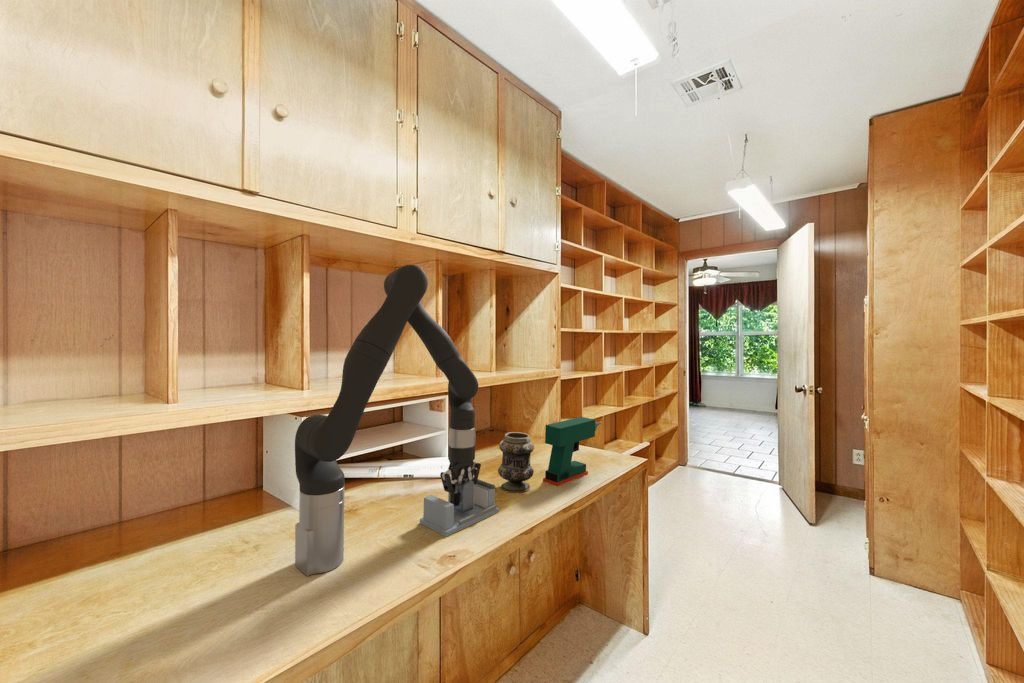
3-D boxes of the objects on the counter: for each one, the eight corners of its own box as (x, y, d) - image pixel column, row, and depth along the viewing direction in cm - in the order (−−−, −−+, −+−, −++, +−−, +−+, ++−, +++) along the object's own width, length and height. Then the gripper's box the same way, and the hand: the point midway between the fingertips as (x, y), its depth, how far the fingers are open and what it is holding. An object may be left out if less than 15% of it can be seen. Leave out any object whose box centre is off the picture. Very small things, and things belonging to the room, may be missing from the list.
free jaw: (489, 511, 122) (489, 486, 122) (465, 501, 129) (465, 477, 128) (496, 507, 125) (496, 483, 124) (472, 498, 131) (472, 475, 131)
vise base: (446, 536, 109) (447, 509, 109) (419, 523, 116) (420, 497, 116) (498, 511, 125) (499, 487, 124) (472, 501, 132) (472, 478, 132)
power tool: (592, 461, 174) (594, 413, 173) (607, 466, 169) (609, 416, 168) (541, 480, 151) (543, 425, 150) (557, 486, 146) (559, 428, 145)
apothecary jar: (539, 485, 146) (540, 433, 145) (522, 497, 136) (524, 441, 135) (509, 478, 152) (510, 428, 151) (490, 489, 142) (492, 435, 141)
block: (462, 513, 117) (463, 484, 117) (448, 507, 121) (448, 479, 121) (473, 508, 120) (473, 481, 120) (458, 502, 124) (459, 475, 124)
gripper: (470, 435, 128) (469, 492, 128) (433, 445, 117) (432, 506, 117) (488, 440, 123) (487, 499, 124) (451, 451, 112) (450, 515, 113)
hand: (460, 502), depth 120 cm, fingers closed on block, 4 cm apart
